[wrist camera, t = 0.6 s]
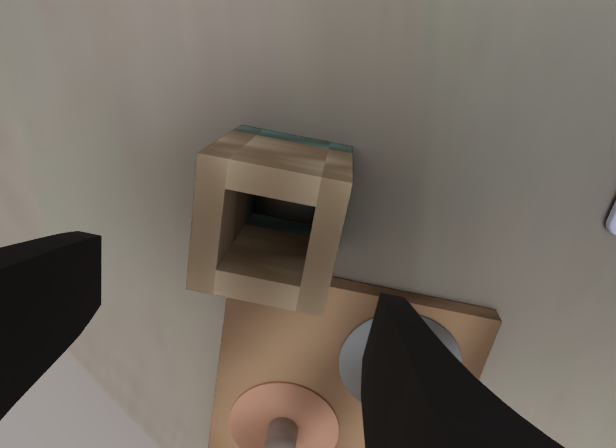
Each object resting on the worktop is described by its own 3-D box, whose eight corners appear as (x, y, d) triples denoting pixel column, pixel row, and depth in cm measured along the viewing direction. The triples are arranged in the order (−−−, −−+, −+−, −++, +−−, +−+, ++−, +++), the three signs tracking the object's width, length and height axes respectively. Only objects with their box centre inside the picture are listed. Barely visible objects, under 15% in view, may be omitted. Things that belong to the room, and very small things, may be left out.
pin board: (495, 309, 22) (525, 362, 18) (423, 493, 26) (435, 565, 23) (235, 257, 22) (211, 298, 18) (211, 448, 27) (188, 512, 23)
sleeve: (352, 146, 20) (352, 183, 14) (330, 248, 21) (322, 316, 16) (241, 125, 20) (197, 153, 14) (228, 227, 21) (186, 288, 16)
